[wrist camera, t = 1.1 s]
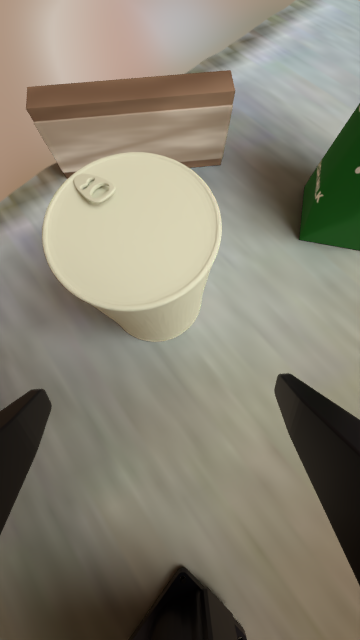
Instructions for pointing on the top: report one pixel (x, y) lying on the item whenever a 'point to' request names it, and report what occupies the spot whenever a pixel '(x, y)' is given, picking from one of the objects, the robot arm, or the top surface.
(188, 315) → the can
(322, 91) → the top surface
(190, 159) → the brown box
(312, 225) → the milk carton
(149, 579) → the top surface
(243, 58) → the top surface
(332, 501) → the robot arm
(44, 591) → the top surface
